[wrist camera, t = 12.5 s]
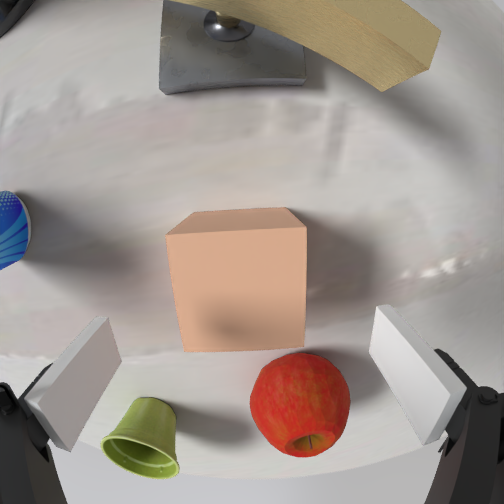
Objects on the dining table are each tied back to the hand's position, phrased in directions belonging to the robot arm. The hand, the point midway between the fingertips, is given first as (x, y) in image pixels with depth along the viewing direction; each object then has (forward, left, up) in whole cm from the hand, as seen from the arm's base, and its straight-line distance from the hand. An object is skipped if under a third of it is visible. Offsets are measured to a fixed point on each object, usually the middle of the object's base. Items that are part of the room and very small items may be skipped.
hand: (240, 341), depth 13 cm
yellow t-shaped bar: (-21, 0, -11) cm, 24 cm away
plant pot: (+21, -13, -14) cm, 28 cm away
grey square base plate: (-21, 0, -13) cm, 25 cm away
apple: (+15, +5, -14) cm, 21 cm away
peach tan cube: (0, 0, -13) cm, 13 cm away
